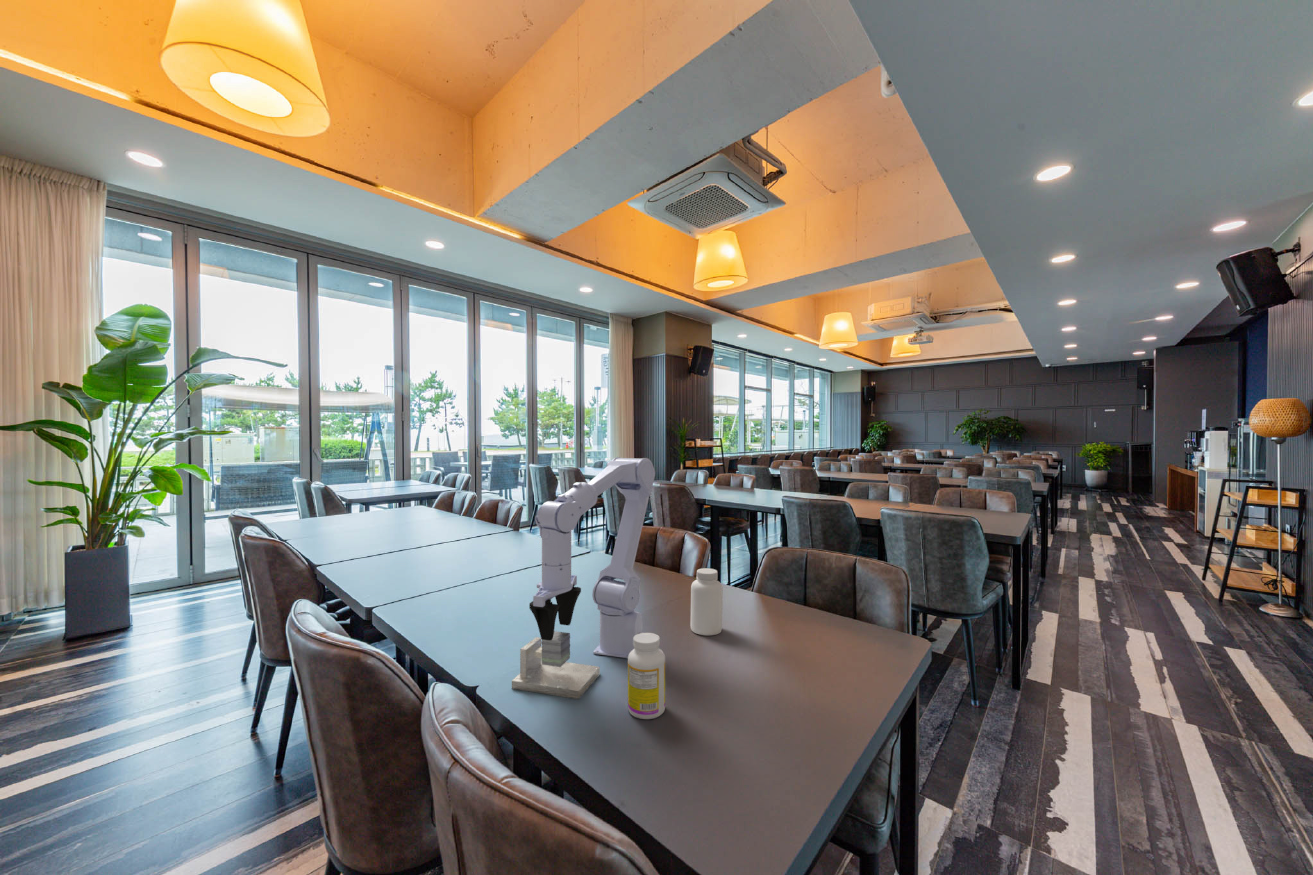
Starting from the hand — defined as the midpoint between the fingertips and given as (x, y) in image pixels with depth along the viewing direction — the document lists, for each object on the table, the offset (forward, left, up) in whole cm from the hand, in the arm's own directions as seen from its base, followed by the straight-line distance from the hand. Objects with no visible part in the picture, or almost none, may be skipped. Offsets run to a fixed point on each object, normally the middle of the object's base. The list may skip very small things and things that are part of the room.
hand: (556, 631), depth 95 cm
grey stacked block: (0, 0, -6) cm, 6 cm away
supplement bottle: (-20, +5, -10) cm, 23 cm away
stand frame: (0, 0, -10) cm, 10 cm away
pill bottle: (-24, -34, -10) cm, 43 cm away
